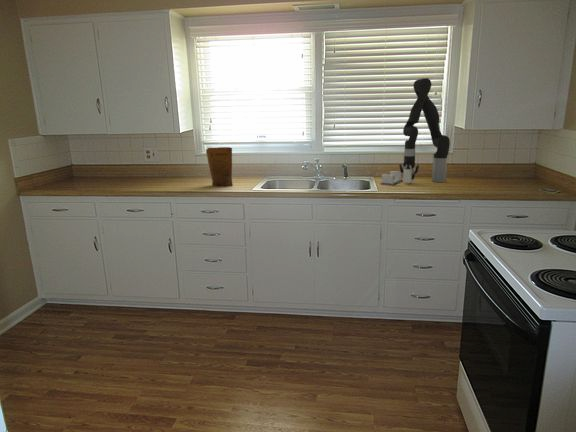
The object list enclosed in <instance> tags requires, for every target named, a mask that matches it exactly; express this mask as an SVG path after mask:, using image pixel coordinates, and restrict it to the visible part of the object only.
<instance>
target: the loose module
mask: <svg viewBox="0 0 576 432" xmlns="http://www.w3.org/2000/svg"><path fill="white" fill-rule="evenodd" d="M404 169H405V168H404ZM404 169H403V176H402V180H403V181H402V183H403V184H411V183H413V182H414V181H415V178H414V179H413V180H412V169H405V170H404ZM415 170H416V168H415V167H414V172H415Z"/></svg>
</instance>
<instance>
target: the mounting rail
mask: <svg viewBox="0 0 576 432" xmlns="http://www.w3.org/2000/svg"><path fill="white" fill-rule="evenodd" d="M399 183H403V173H401V171H397V170H396V171H395V170H390V171H389V174H386V173H383V174H381V182H380V185H381V186H382V185H383V186H392V187H393V186H395V185H397V184H399Z"/></svg>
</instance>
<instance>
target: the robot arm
mask: <svg viewBox="0 0 576 432" xmlns="http://www.w3.org/2000/svg"><path fill="white" fill-rule="evenodd" d="M431 88H432V81H431V79H430V78H428V77H425V78H424V77H423V78H420V79H415V81H414V82H413V91H414V93H415V94H416V97H417V99H416V100H415V102H414V103H413V105H412V107H411V109H410V112H409V115H408V119H407V121H406V123H405V125H404V127H403V130H402V131H403V132H402V133H403V135H404V136H405V137H409V138H408V139H406V140H405V141H404V149H403V150H404V151H403V152H404V154H403V163H401V164H399V170H400V171H399V172H401V173H403V171H404V170H405V169H412V180H413V179H414V180H415V175H416V174H418V172H419V169H420V165H419V164H416V163H415V162H416V142H417V139H418V136H419V129H418V127H417V126H414V125H415V124H418V123H419V121H420V117H421V116H422V115H421V113H423V115H424V118H425V121H426V124H427V127H428V130H429V132H430V136H431V137H430V138H431V143H432V145H433V146H434V147H435V148H436V152H434V154H433V161H432V172H431V173H432V175H431V182H433V183H445V182H447V173H448V168H447V165H448V164H447V163H448V155H449V153H450V144H451V142H450V141H451V140H450V137H449V136H447V135H443V134H442V132H441V129H440V114H439V111H438V108H437V106H436V104H435V103H434V102H433V101H432V100H431V99H430V98H429V92H430V91H431ZM403 167H404V169H403ZM414 168H415V172H414Z"/></svg>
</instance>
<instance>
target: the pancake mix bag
mask: <svg viewBox="0 0 576 432" xmlns="http://www.w3.org/2000/svg"><path fill="white" fill-rule="evenodd" d="M205 153H206V158H207V163H208V168H209V172H210V176H211V181H212V184H211V185H212V186H213V187H233V185H234V184H233V148H232V147H227V146H226V147H225V146H224V147H222V146H221V147H207V149H206V150H205Z"/></svg>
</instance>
